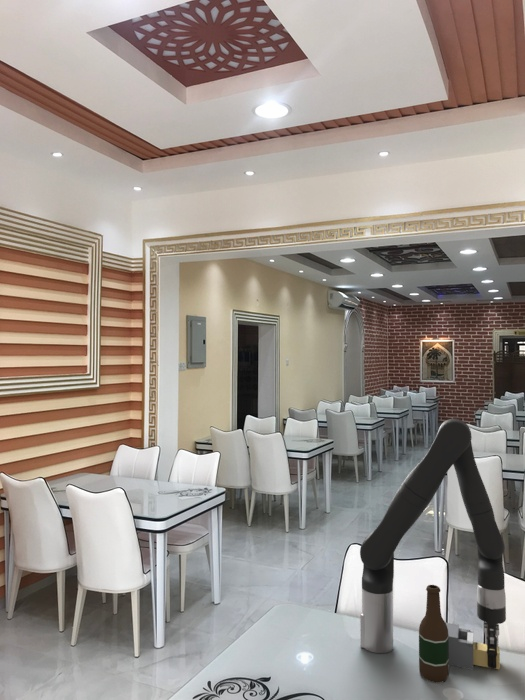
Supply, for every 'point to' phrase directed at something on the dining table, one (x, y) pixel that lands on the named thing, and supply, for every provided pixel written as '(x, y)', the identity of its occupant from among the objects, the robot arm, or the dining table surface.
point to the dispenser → (460, 646)
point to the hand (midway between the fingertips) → (491, 662)
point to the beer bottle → (433, 640)
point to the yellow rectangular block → (483, 655)
